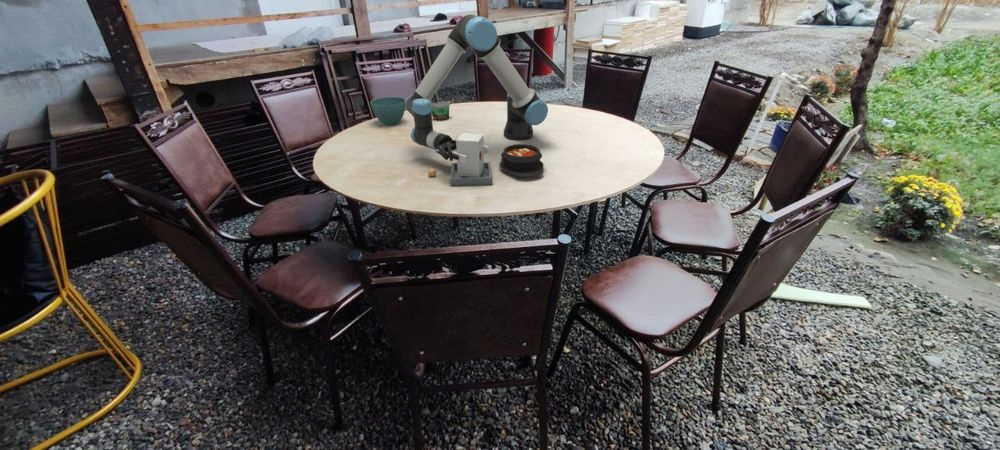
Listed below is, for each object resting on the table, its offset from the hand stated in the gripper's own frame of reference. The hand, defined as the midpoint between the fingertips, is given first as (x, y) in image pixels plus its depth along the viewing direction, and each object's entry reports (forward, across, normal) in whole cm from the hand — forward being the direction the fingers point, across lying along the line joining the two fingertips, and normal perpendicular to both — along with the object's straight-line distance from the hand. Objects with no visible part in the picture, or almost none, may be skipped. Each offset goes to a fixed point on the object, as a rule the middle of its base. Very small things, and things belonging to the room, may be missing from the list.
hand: (477, 154), depth 162 cm
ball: (-16, +10, -10) cm, 22 cm away
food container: (-71, -44, -11) cm, 84 cm away
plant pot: (-87, -21, -11) cm, 90 cm away
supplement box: (-4, 0, -9) cm, 9 cm away
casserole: (+6, -20, -11) cm, 23 cm away
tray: (-4, 0, -10) cm, 11 cm away
